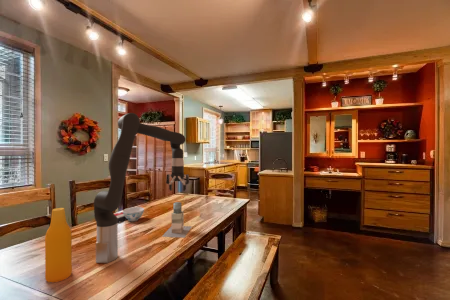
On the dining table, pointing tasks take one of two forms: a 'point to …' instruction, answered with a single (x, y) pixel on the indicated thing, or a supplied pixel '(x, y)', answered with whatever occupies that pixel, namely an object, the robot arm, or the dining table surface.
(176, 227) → the base block
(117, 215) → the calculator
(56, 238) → the beer bottle
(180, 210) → the cylinder
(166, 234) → the tower board
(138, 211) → the chinaware
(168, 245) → the dining table surface
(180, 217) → the top block
